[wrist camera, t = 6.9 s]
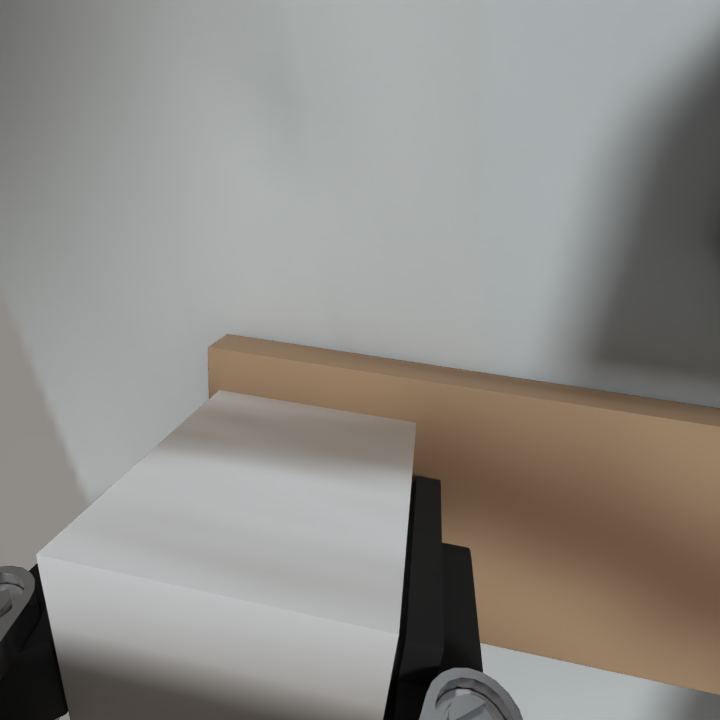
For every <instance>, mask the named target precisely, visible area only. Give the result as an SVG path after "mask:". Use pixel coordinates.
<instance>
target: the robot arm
mask: <svg viewBox="0 0 720 720" xmlns="http://www.w3.org/2000/svg"><path fill="white" fill-rule="evenodd" d="M67 712H68V706H67V702H66V697H65V692H64V687H63V683H62V678H61V673H60V668H59V664H58V659H57V654H56V649H55V645H54V640H53V635H52V630H51V626H50V621H49V616H48V611H47V606H46V602H45V597H44V592H43V587H42V583H41V578H40V573H39V568H38V564H36V565H35V566H34V567H33V568H32V569H31V570H29V571H27V570H25V569H24V568H21V567H14V566H3V567H0V720H59V718H60V717H61V716H63V715H65V714H66V713H67ZM383 720H523V718H522V716H521V713H520V710H519V708H518V707H517V705H516V704H515V702H514V700H513V699H512V697H511V696H510V694H509V693H508V692H507V691H506V690H505V689H504V688H503V687H502V686H501V685H500V684H499V683H498V682H497V681H495V680H494V679H492V678H491V677H489V676H487V675H486V674H484V673H483V668H482V658H481V648H480V638H479V628H478V618H477V608H476V598H475V588H474V578H473V568H472V558H471V551H470V549H469V548H468V547H463V546H458V545H453V544H448V543H442V519H441V481H440V480H438V479H433V478H427V477H422V476H416V479H415V482H413V481H412V482H411V494H410V506H409V518H408V530H407V543H406V555H405V567H404V579H403V591H402V603H401V615H400V627H399V637H398V642H397V647H396V653H395V658H394V663H393V669H392V674H391V679H390V685H389V690H388V695H387V701H386V706H385V711H384V717H383Z"/></svg>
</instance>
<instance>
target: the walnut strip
mask: <svg viewBox="0 0 720 720" xmlns="http://www.w3.org/2000/svg"><path fill="white" fill-rule="evenodd" d="M208 372H209V400H208V401H207V402H205V403H204V404H203V405H202V406H201V407H200V408H199V409H198V410H196V411H195V412H194V413H193V414H192V415H191V416H190V417H189V418H188V419H186V420H185V421H184V422H183V423H182V424H181V425H180V426H179V427H177V428H176V429H175V430H174V431H173V432H172V433H171V434H170V435H169V436H167V437H166V438H165V439H164V440H163V441H162V442H161V443H160V444H158V445H157V446H156V447H155V448H154V449H153V450H152V451H151V452H150V453H148V454H147V455H146V456H145V457H144V458H143V459H142V460H141V461H139V462H138V463H137V464H136V465H135V466H134V467H133V468H132V469H131V470H129V471H128V472H127V473H126V474H125V475H124V476H123V477H122V478H120V479H119V480H118V481H117V482H116V483H115V484H114V485H113V486H112V487H110V488H109V489H108V490H107V491H106V492H105V493H104V494H103V495H101V496H100V497H99V498H98V499H97V500H96V501H95V502H94V503H93V504H91V505H90V506H89V507H88V508H87V509H86V510H85V511H84V512H83V513H81V515H79V516H78V517H77V518H76V519H75V520H74V521H73V522H71V523H70V524H69V525H68V526H67V527H66V528H65V529H64V530H62V531H61V532H60V533H59V534H58V535H57V536H56V537H55V538H54V539H52V540H51V541H50V542H49V543H48V544H47V545H46V546H45V547H43V548H42V549H41V550H40V551H39V552H38V553H37V554H36V558H37V564H38V568H39V573H40V578H41V583H42V587H43V592H44V597H45V602H46V606H47V611H48V616H49V621H50V626H51V630H52V635H53V640H54V645H55V649H56V654H57V659H58V664H59V668H60V673H61V678H62V683H63V687H64V692H65V697H66V702H67V706H68V711H69V716H70V720H383V717H384V711H385V706H386V701H387V695H388V690H389V685H390V679H391V674H392V669H393V663H394V658H395V653H396V647H397V642H398V637H399V627H400V615H401V603H402V591H403V579H404V567H405V555H406V543H407V530H408V518H409V506H410V494H411V482H412V481H413V482H415V479H416V476H422V477H427V478H433V479H438V480H440V481H441V519H442V543H448V544H453V545H458V546H463V547H468V548H469V549H470V551H471V558H472V568H473V578H474V588H475V598H476V608H477V618H478V628H479V638H480V643H484V644H488V645H493V646H497V647H502V648H507V649H511V650H516V651H520V652H525V653H530V654H534V655H539V656H543V657H548V658H552V659H557V660H562V661H566V662H571V663H575V664H580V665H585V666H589V667H594V668H598V669H603V670H607V671H612V672H617V673H621V674H626V675H630V676H635V677H640V678H644V679H649V680H653V681H658V682H662V683H667V684H672V685H676V686H681V687H685V688H690V689H695V690H699V691H704V692H708V693H713V694H717V695H720V409H719V408H713V407H706V406H700V405H693V404H686V403H680V402H673V401H667V400H660V399H653V398H647V397H640V396H633V395H627V394H620V393H614V392H607V391H600V390H594V389H587V388H581V387H574V386H567V385H561V384H554V383H547V382H541V381H534V380H528V379H521V378H514V377H508V376H501V375H495V374H488V373H481V372H475V371H468V370H461V369H455V368H448V367H442V366H435V365H428V364H422V363H415V362H409V361H402V360H395V359H389V358H382V357H375V356H369V355H362V354H356V353H349V352H342V351H336V350H329V349H322V348H316V347H309V346H303V345H296V344H289V343H283V342H276V341H270V340H263V339H256V338H250V337H243V336H236V335H230V334H227V335H226V336H224V337H223V338H221V339H220V340H218V341H217V342H215V343H214V344H212V345H211V346H209V347H208Z"/></svg>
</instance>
